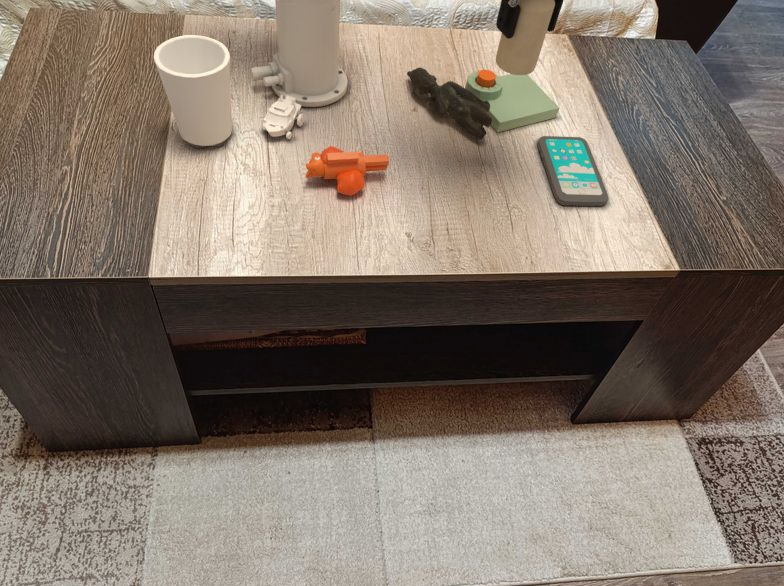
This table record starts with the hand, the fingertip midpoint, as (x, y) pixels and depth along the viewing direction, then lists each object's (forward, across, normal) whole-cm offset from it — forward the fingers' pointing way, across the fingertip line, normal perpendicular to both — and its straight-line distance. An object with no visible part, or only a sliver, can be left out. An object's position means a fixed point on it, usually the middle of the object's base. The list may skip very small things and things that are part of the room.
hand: (525, 27), depth 79 cm
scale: (+21, -11, -11) cm, 26 cm away
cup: (+22, +39, -19) cm, 48 cm away
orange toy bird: (+22, +23, -2) cm, 31 cm away
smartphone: (+21, -12, +7) cm, 25 cm away
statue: (+17, +3, -12) cm, 21 cm away
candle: (+5, 0, 0) cm, 5 cm away
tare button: (+18, -7, -14) cm, 24 cm away
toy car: (+22, +27, -17) cm, 39 cm away
